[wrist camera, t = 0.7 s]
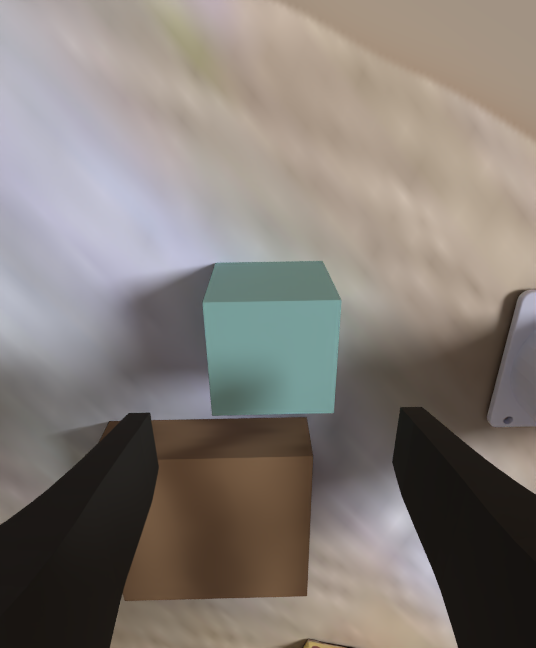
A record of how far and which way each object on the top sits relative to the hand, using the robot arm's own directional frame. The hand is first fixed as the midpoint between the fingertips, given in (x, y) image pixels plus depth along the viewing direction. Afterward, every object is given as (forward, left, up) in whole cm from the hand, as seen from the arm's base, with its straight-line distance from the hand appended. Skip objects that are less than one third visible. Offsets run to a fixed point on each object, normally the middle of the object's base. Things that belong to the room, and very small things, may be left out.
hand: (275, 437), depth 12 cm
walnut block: (+3, +12, -10) cm, 16 cm away
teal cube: (0, 0, -9) cm, 9 cm away
